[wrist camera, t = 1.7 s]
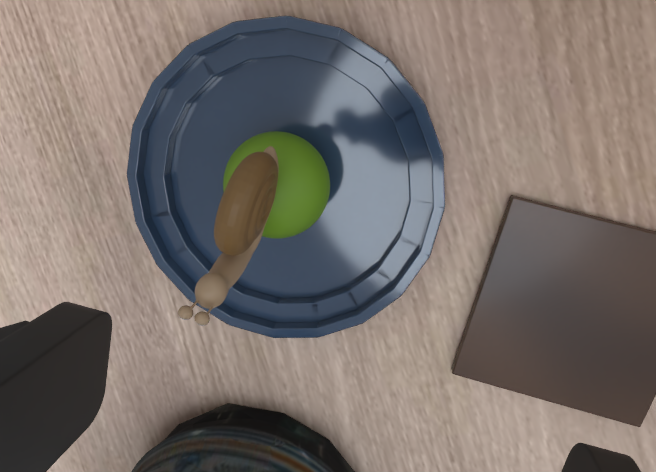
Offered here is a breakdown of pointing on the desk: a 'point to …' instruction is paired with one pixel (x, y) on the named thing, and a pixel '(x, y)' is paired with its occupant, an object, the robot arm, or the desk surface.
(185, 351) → the desk surface
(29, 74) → the desk surface
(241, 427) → the beer stein
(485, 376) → the coaster
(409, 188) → the plate
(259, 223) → the snail figurine
